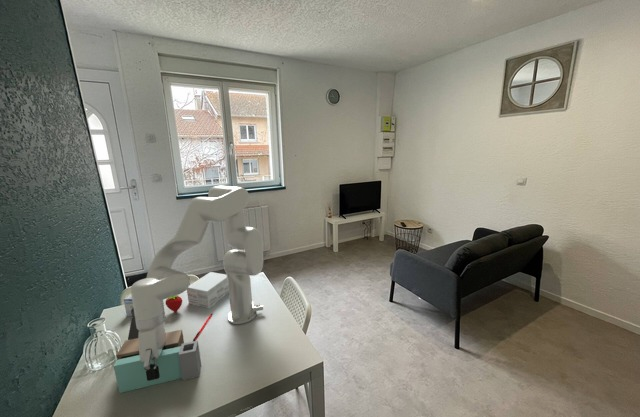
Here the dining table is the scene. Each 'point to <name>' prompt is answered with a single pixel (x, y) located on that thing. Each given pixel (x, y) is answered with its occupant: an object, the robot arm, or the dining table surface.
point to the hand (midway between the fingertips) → (157, 367)
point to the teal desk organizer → (170, 364)
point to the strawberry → (174, 303)
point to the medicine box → (128, 305)
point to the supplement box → (208, 290)
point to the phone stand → (133, 327)
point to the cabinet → (132, 346)
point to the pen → (202, 328)
